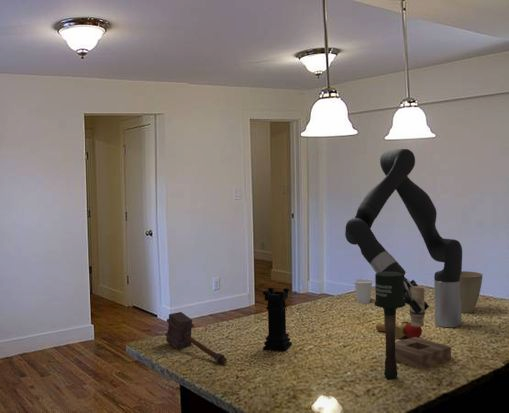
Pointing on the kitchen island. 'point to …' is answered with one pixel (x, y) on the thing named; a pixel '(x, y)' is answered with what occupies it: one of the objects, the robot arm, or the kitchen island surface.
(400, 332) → the kendama
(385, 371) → the potato masher grenade
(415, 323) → the peg
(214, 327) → the kitchen island surface
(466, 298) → the plant pot
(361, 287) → the dixie cup
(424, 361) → the block
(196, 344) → the hammer
